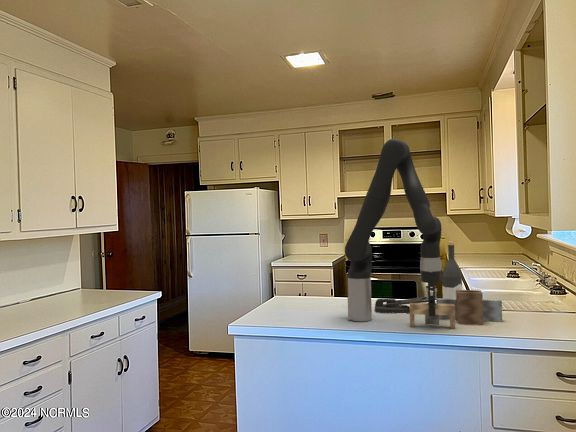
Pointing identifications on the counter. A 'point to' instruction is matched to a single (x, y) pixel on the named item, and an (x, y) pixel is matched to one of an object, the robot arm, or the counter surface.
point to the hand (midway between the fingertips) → (432, 314)
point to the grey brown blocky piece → (473, 307)
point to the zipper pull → (396, 305)
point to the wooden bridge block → (439, 310)
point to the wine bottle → (451, 275)
